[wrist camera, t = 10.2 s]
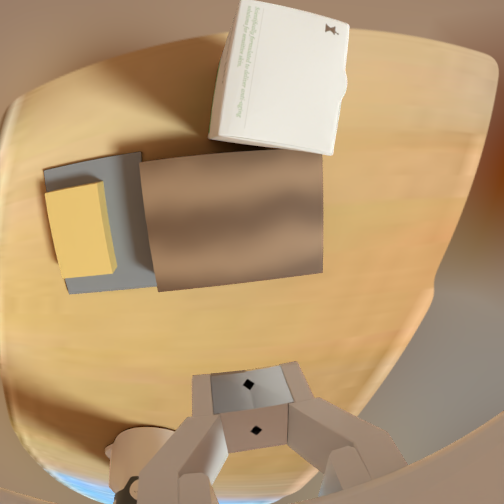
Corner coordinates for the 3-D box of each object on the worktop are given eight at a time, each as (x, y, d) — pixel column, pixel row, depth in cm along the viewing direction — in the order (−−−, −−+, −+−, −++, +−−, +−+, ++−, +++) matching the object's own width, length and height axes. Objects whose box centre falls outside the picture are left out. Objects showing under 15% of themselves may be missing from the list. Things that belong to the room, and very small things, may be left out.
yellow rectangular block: (62, 278, 28) (69, 271, 30) (112, 273, 29) (117, 266, 31) (44, 193, 25) (52, 190, 27) (96, 183, 26) (103, 180, 28)
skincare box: (218, 62, 26) (236, -11, 11) (284, 73, 27) (355, 19, 13) (206, 143, 29) (210, 136, 14) (273, 151, 30) (338, 157, 15)
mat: (159, 284, 32) (159, 286, 32) (70, 292, 31) (69, 294, 31) (141, 151, 28) (140, 151, 27) (45, 170, 26) (43, 170, 26)
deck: (309, 258, 34) (322, 272, 30) (162, 275, 32) (158, 291, 28) (307, 147, 30) (321, 148, 26) (147, 160, 28) (139, 162, 24)
